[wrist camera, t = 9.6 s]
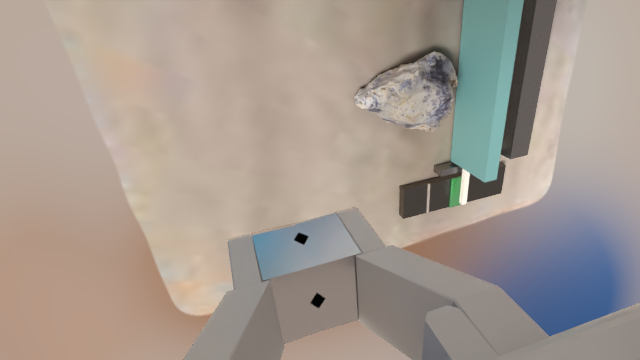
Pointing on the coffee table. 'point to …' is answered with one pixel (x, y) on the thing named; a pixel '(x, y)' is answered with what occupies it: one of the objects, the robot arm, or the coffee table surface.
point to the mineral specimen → (412, 93)
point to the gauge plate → (484, 86)
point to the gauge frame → (517, 122)
